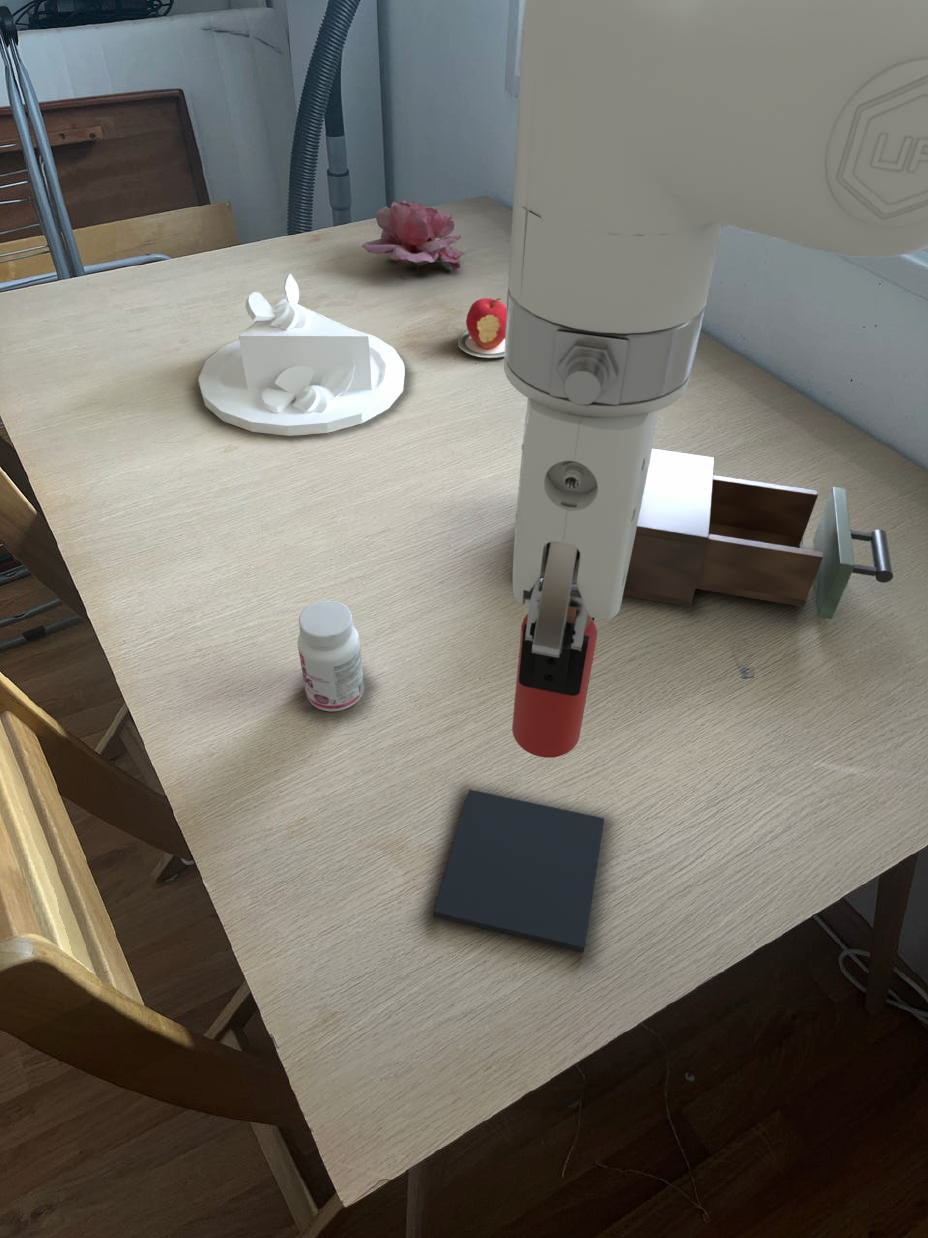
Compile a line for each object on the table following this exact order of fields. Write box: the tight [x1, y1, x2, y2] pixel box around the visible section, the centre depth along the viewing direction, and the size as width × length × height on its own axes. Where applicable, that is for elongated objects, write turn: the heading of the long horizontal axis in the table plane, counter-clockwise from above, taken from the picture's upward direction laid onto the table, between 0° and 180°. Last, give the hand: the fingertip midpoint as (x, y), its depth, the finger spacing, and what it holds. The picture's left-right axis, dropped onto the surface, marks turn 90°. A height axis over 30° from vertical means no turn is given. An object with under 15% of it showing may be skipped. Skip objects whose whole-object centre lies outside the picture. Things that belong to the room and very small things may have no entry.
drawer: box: [695, 474, 894, 620], centre depth 80 cm, size 19×11×6 cm, turn 76°
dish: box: [197, 273, 406, 437], centre depth 104 cm, size 25×25×11 cm
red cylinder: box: [511, 582, 598, 759], centre depth 48 cm, size 4×4×12 cm
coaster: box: [433, 789, 605, 953], centre depth 60 cm, size 10×10×1 cm
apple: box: [457, 297, 507, 359], centre depth 113 cm, size 8×8×6 cm
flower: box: [361, 199, 465, 274], centre depth 130 cm, size 15×15×10 cm
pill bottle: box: [297, 600, 365, 712], centre depth 69 cm, size 5×5×8 cm
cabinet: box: [623, 448, 715, 608], centre depth 83 cm, size 16×13×8 cm
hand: (557, 652), depth 47 cm, fingers closed on red cylinder, 4 cm apart
